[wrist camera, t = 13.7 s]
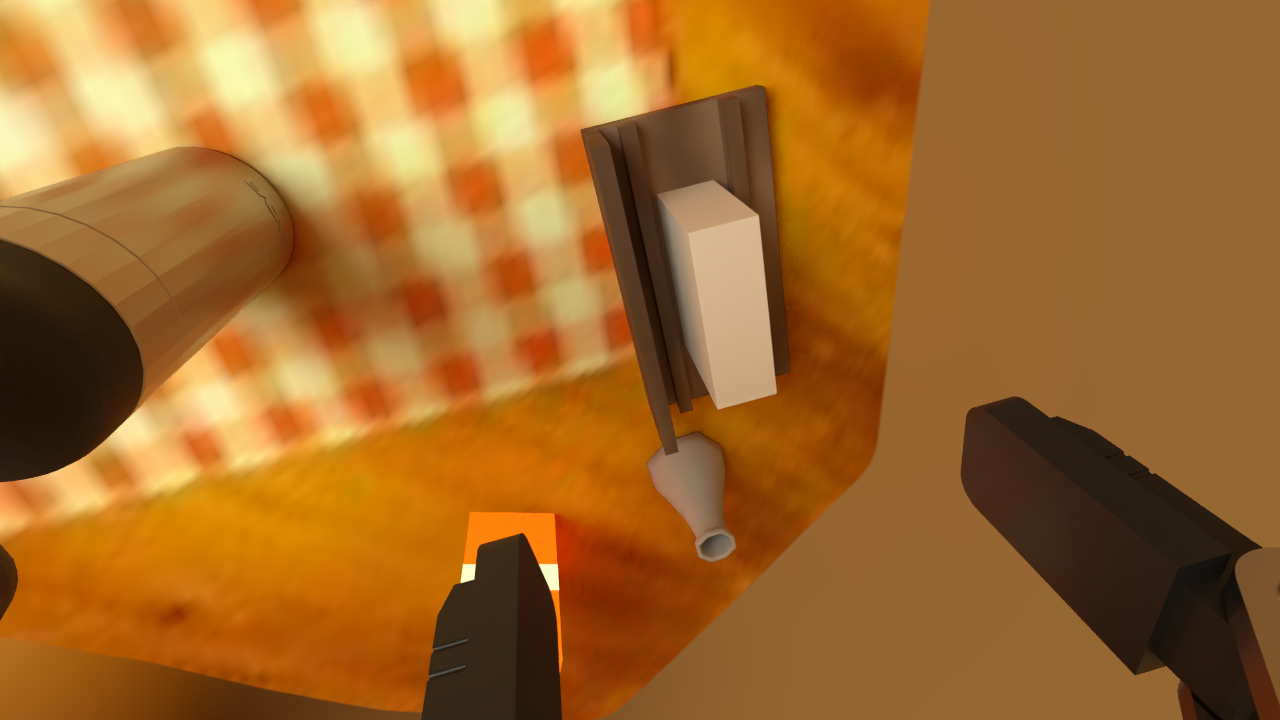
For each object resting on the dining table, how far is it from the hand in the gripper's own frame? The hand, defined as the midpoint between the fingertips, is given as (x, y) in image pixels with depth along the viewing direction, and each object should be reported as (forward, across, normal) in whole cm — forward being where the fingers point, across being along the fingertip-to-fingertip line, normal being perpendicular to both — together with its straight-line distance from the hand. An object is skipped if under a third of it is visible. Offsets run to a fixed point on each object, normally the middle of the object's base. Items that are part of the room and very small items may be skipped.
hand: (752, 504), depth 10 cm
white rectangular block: (+32, -6, +9) cm, 33 cm away
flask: (+33, -2, +28) cm, 44 cm away
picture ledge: (+33, -6, +9) cm, 35 cm away
